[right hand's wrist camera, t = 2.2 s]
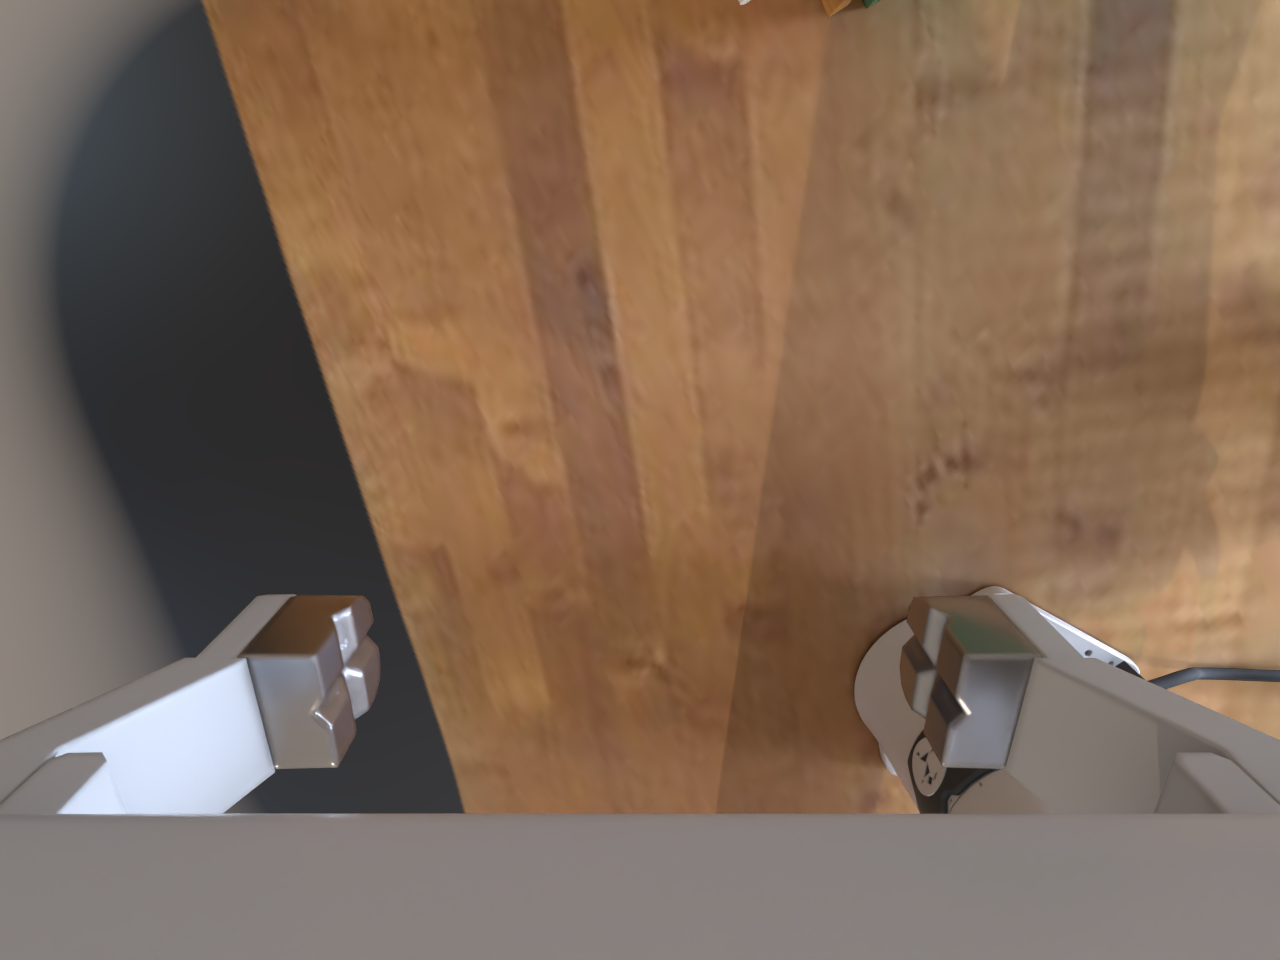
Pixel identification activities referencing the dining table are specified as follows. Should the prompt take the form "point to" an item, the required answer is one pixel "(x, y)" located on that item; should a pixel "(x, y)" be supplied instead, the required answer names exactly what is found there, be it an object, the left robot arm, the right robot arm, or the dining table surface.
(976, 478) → the dining table surface
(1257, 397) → the dining table surface
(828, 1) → the drawer
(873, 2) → the cabinet
